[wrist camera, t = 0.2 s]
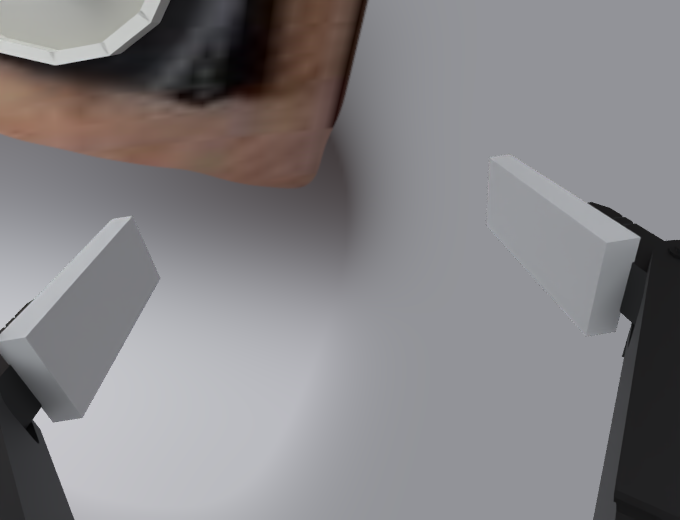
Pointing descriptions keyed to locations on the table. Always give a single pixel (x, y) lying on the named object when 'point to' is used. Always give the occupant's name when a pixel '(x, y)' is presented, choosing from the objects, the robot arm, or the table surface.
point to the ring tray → (75, 27)
